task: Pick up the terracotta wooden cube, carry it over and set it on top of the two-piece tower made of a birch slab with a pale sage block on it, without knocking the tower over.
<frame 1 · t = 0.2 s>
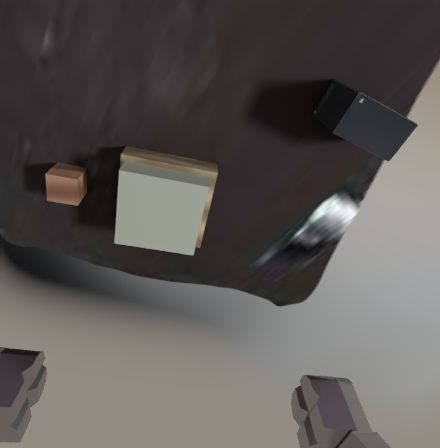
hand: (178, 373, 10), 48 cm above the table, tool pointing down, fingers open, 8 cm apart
sage block: (162, 204, 56), point 4 cm above the table, touching birch slab
small box: (346, 111, 53), on the table
birch slab: (166, 193, 60), on the table, touching sage block
terracotta cube: (72, 177, 57), on the table
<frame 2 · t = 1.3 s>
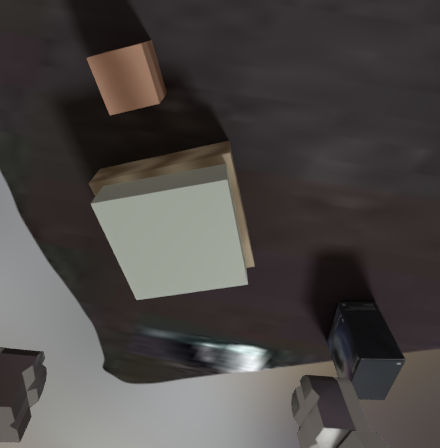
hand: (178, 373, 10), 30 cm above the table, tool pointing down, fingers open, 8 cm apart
sage block: (179, 227, 38), point 4 cm above the table, touching birch slab
small box: (348, 321, 54), on the table
birch slab: (182, 209, 42), on the table, touching sage block
terracotta cube: (136, 73, 33), on the table
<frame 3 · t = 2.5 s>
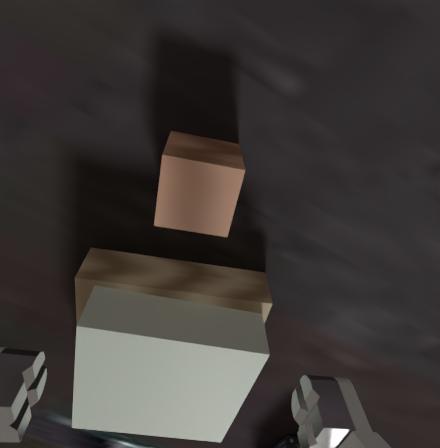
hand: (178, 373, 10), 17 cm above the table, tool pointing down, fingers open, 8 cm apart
sage block: (167, 352, 30), point 4 cm above the table, touching birch slab
birch slab: (171, 315, 33), on the table, touching sage block
terracotta cube: (199, 168, 24), on the table
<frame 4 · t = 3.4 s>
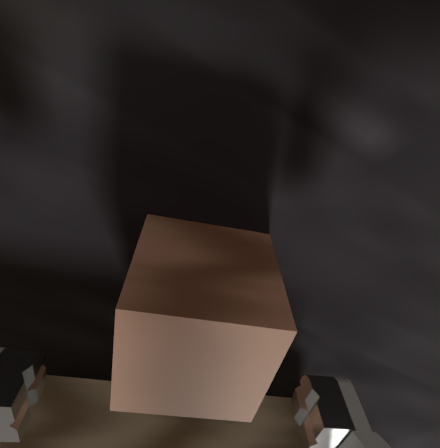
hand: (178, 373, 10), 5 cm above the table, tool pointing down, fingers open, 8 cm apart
birch slab: (157, 441, 23), on the table, touching sage block
terracotta cube: (199, 270, 14), on the table
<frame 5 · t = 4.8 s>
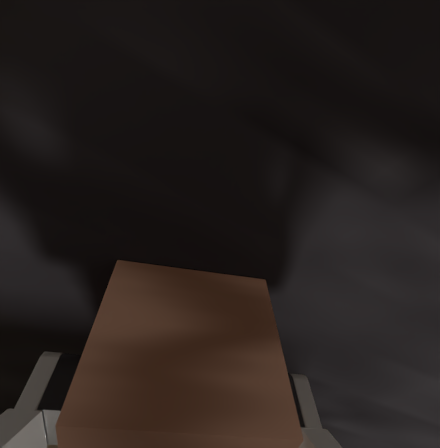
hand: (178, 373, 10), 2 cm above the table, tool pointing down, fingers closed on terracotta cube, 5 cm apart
terracotta cube: (183, 320, 12), on the table, touching gripper
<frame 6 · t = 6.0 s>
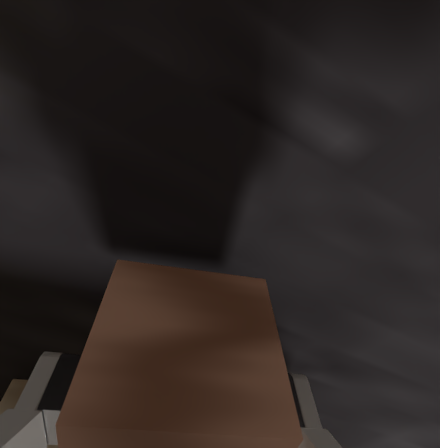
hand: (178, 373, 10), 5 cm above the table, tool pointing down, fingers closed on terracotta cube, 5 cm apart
birch slab: (147, 440, 23), on the table, touching sage block
terracotta cube: (183, 320, 12), point 3 cm above the table, touching gripper
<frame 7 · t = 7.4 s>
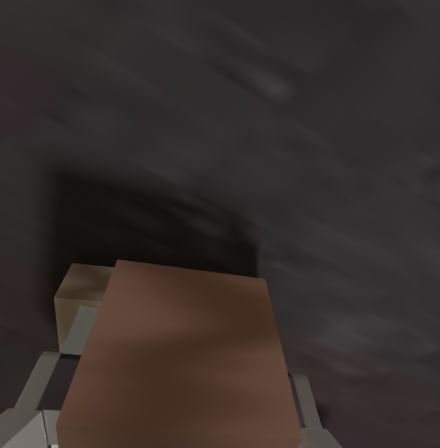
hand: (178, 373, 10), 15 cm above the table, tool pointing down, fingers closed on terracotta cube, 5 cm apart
sage block: (154, 372, 28), point 4 cm above the table, touching birch slab
birch slab: (160, 329, 32), on the table, touching sage block
terracotta cube: (183, 320, 12), point 13 cm above the table, touching gripper
when the fingers open (12 cm above the table, at t = 11.5 s): terracotta cube drops 2 cm, resting on sage block.
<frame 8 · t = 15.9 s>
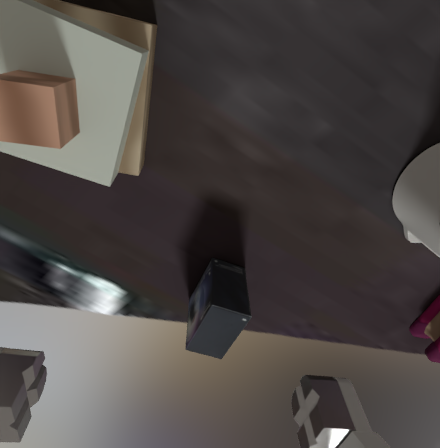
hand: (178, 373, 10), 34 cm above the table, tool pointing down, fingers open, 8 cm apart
sage block: (66, 92, 33), point 4 cm above the table, touching birch slab, terracotta cube
small box: (215, 282, 54), on the table
birch slab: (81, 86, 37), on the table, touching sage block
terracotta cube: (50, 102, 30), point 8 cm above the table, touching sage block
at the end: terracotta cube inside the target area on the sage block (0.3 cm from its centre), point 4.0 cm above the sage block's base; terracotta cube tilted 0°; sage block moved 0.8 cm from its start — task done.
